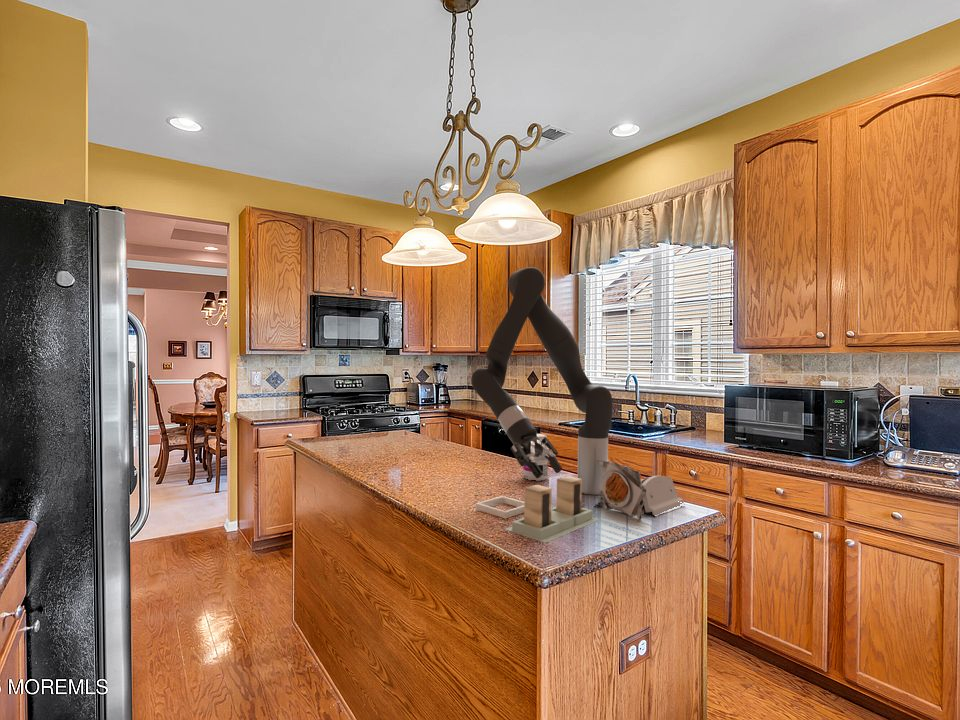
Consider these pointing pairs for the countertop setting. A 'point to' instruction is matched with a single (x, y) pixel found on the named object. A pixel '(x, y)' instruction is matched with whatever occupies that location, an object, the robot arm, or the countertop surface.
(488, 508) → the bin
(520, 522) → the green slotted tray
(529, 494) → the block
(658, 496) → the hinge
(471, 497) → the countertop surface
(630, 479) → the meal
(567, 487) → the block
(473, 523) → the countertop surface
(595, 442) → the robot arm
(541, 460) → the supplement can
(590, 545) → the countertop surface
